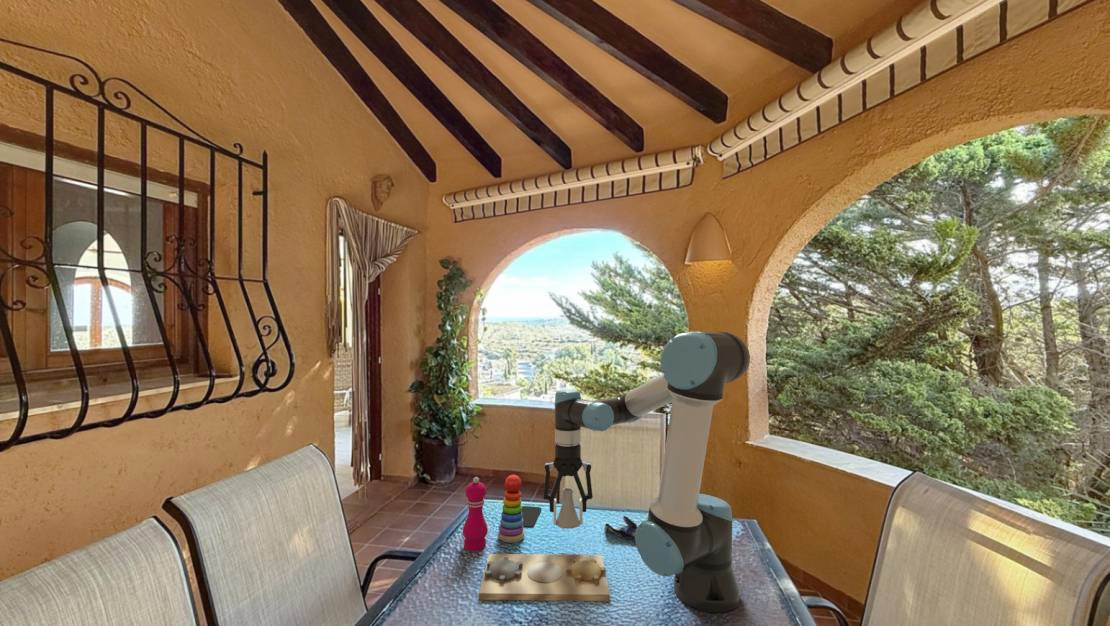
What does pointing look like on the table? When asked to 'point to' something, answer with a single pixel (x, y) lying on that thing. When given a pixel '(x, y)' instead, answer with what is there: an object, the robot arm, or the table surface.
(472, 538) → the pepper mill
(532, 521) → the phone
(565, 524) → the flask
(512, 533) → the stacking toy
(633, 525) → the snack package
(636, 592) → the table surface
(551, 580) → the gear board
